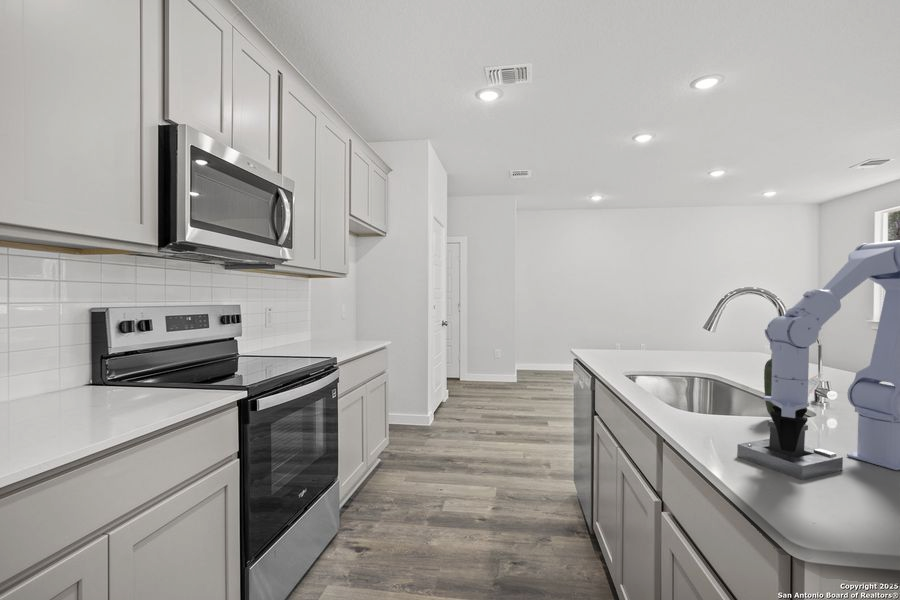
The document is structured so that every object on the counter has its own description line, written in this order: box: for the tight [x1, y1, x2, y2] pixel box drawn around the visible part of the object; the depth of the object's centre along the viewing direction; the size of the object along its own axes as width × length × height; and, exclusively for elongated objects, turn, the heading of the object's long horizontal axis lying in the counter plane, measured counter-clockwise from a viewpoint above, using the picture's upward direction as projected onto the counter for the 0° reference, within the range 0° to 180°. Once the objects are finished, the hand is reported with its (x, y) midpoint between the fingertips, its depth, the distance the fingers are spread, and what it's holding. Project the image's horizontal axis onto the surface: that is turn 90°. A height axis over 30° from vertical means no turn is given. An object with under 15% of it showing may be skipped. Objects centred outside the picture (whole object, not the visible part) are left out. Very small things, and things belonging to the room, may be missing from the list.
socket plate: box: [736, 438, 844, 481], centre depth 87 cm, size 12×12×3 cm
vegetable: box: [763, 354, 775, 415], centre depth 117 cm, size 4×4×20 cm
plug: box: [767, 419, 809, 458], centre depth 87 cm, size 5×5×7 cm
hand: (788, 445), depth 87 cm, fingers closed on plug, 6 cm apart
